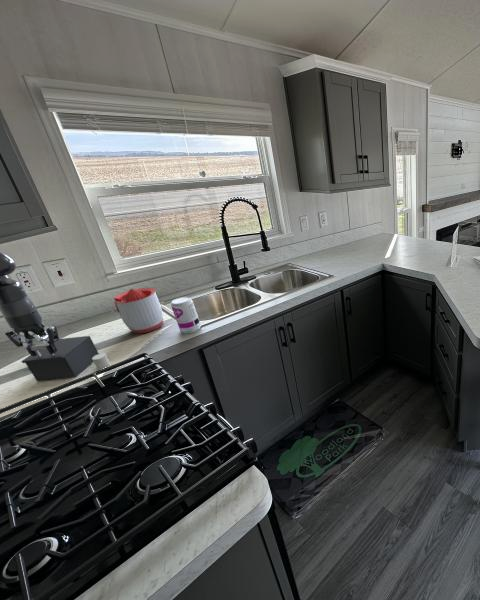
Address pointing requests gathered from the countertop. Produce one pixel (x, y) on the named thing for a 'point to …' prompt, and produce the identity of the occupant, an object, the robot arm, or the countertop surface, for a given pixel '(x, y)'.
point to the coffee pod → (101, 361)
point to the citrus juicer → (139, 309)
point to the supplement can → (185, 315)
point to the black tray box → (65, 364)
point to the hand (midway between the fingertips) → (45, 353)
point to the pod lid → (63, 349)
